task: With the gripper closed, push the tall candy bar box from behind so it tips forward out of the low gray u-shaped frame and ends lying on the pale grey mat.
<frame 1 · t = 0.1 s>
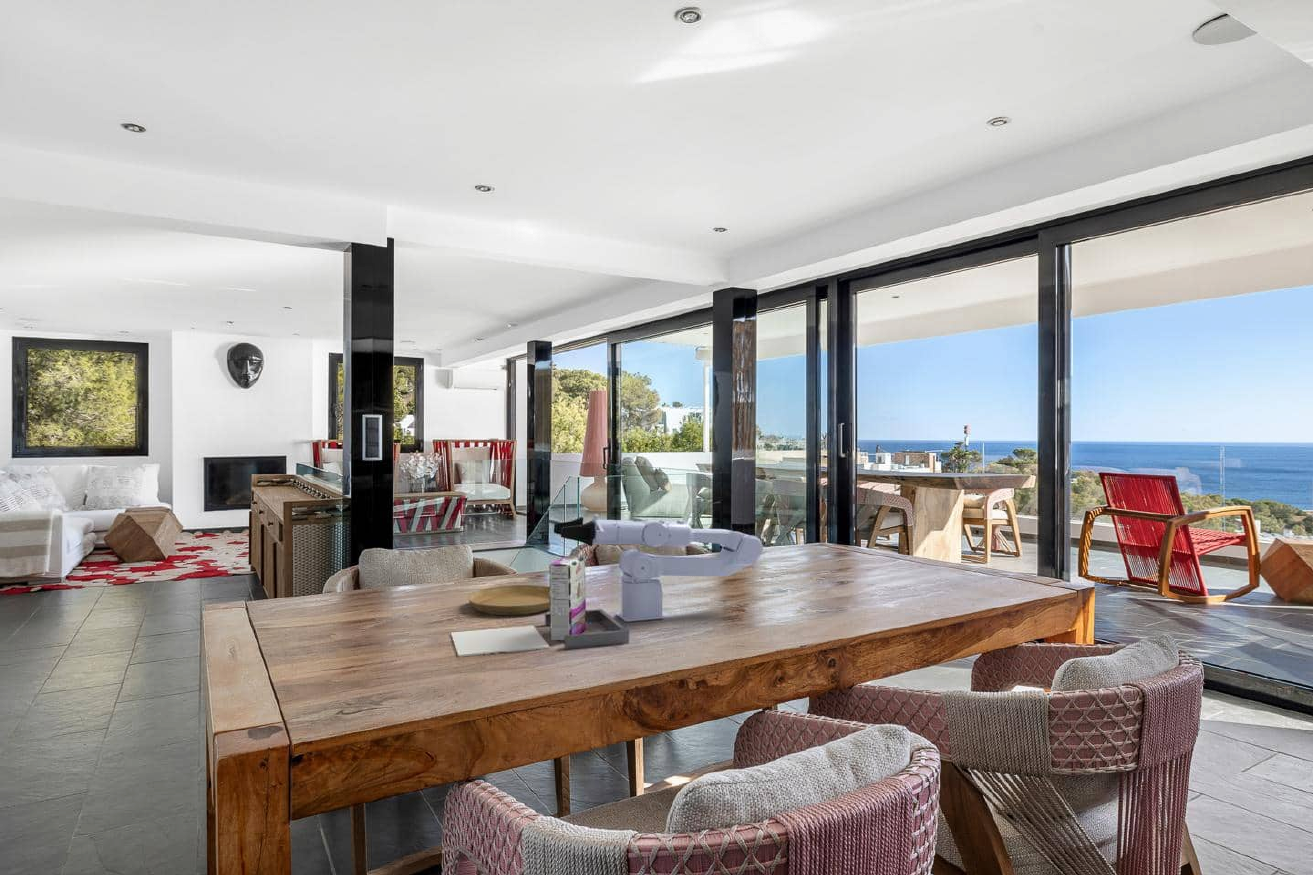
hand: (557, 530, 173), 22 cm above the table, tool horizontal, fingers open, 7 cm apart
plant saucer: (516, 607, 192), on the table
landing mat: (498, 641, 159), on the table
gray u-shaped frame: (568, 634, 164), on the table
candy bar box: (568, 635, 164), on the table
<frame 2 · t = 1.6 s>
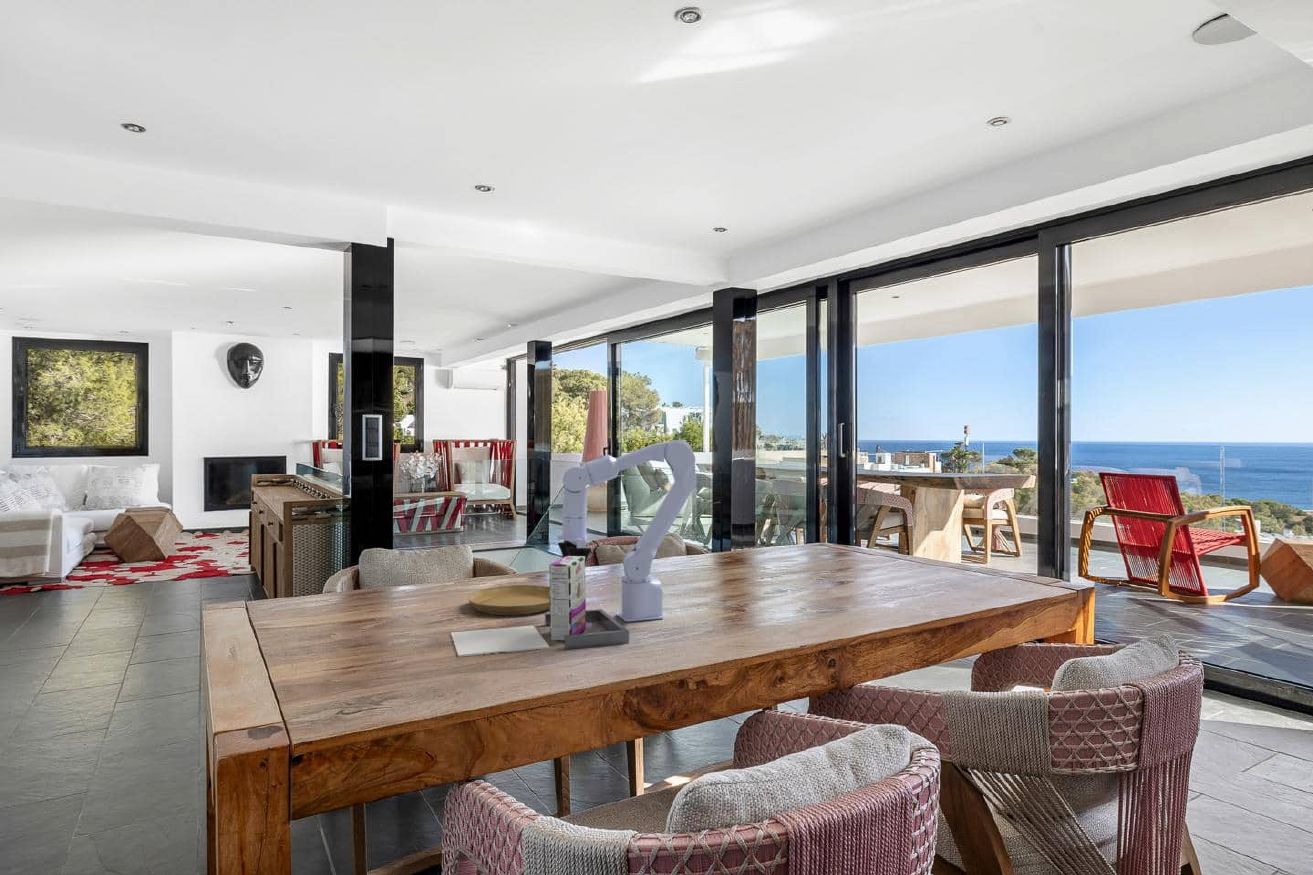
hand: (573, 574, 179), 10 cm above the table, tool pointing down, fingers open, 7 cm apart
nothing on the table moved.
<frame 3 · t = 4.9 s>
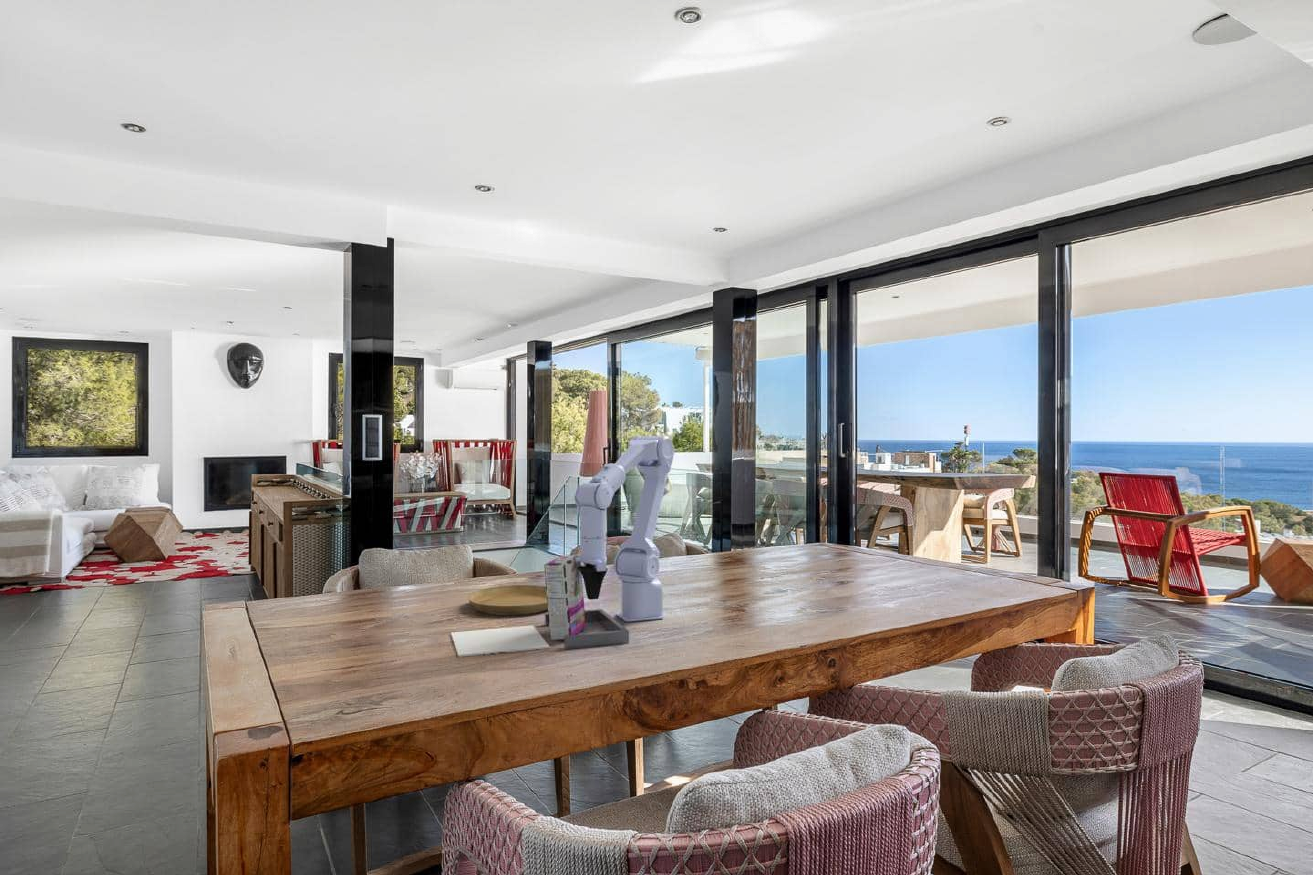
hand: (593, 598, 166), 7 cm above the table, tool pointing down, fingers closed
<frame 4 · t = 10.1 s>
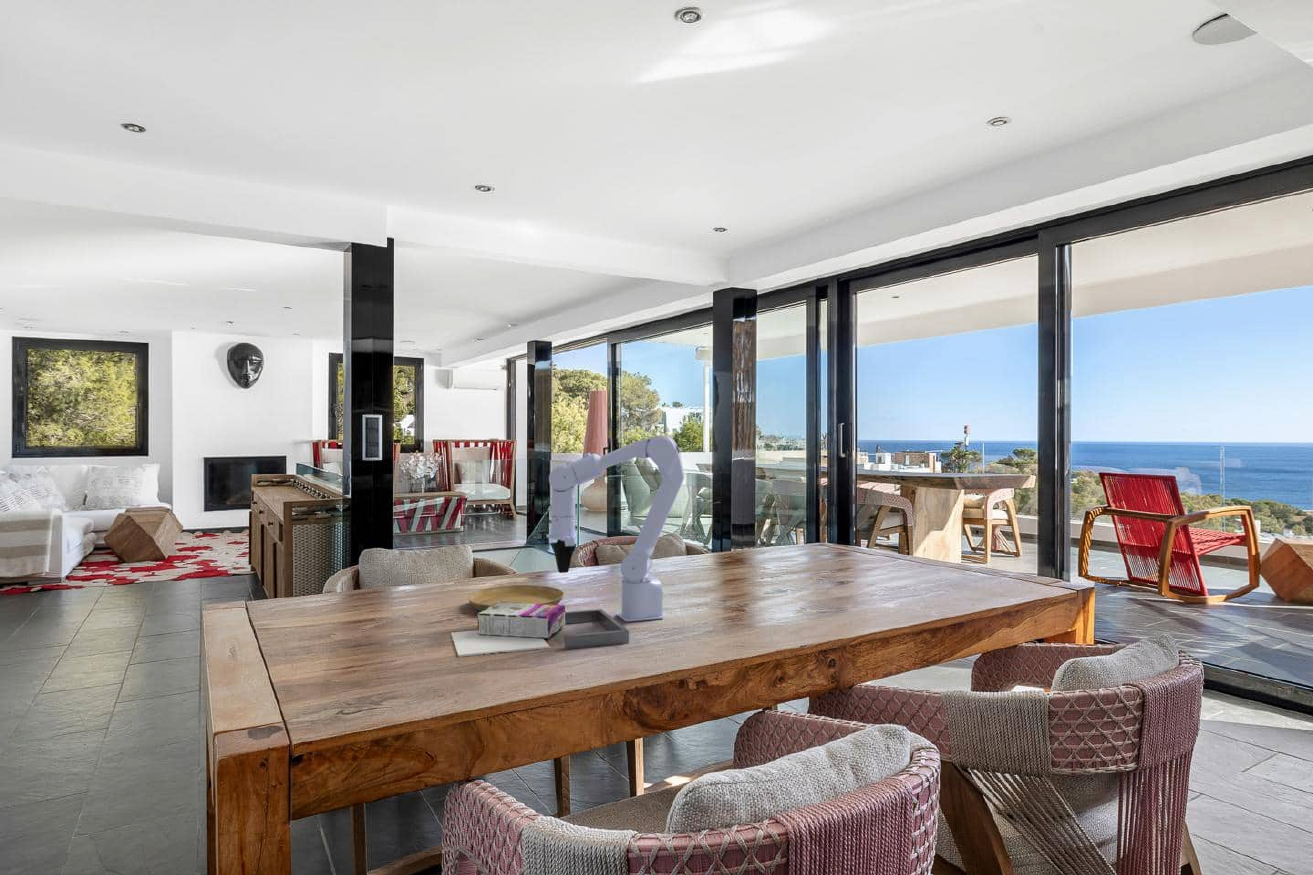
hand: (563, 572, 182), 10 cm above the table, tool pointing down, fingers closed
candy bar box: (558, 622, 164), point 3 cm above the table, touching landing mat
everything else where it was.
at the end: candy bar box tilted 89°; candy bar box touching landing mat; candy bar box inside the target area (6.1 cm from its centre), point 2.8 cm above the table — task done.
